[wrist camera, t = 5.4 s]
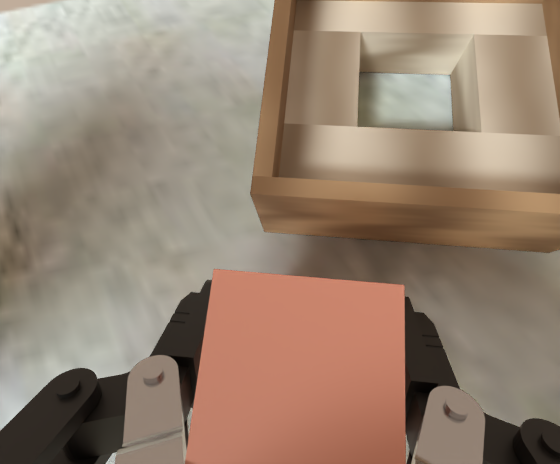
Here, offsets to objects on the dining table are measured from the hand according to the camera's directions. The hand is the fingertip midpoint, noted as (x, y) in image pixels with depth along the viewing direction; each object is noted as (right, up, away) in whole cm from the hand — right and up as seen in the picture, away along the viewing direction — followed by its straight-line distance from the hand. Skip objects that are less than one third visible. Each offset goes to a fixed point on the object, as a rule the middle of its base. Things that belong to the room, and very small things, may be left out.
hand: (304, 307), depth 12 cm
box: (+6, +9, +8) cm, 13 cm away
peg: (0, -3, +5) cm, 6 cm away
